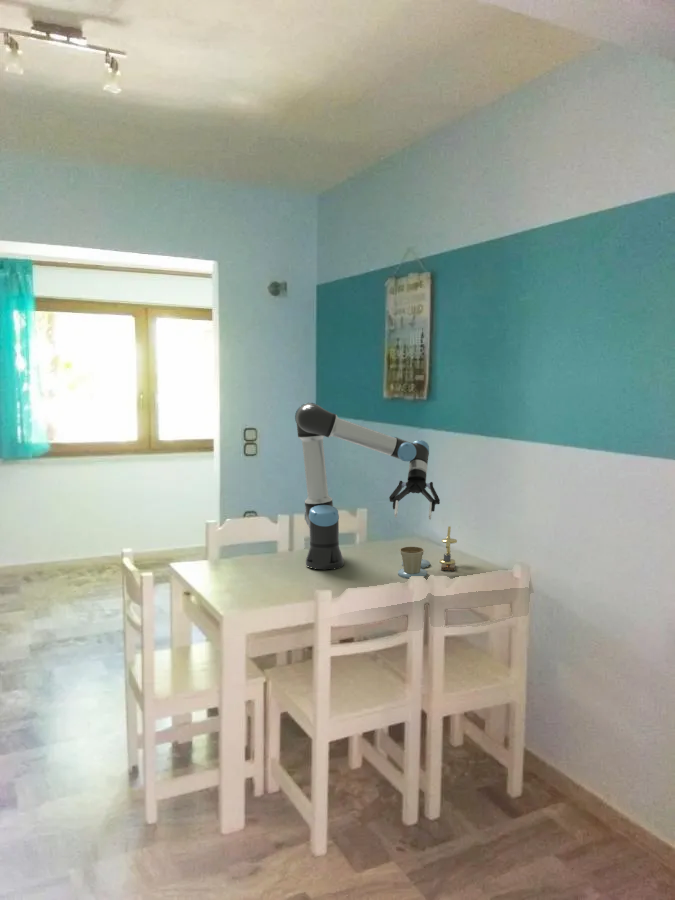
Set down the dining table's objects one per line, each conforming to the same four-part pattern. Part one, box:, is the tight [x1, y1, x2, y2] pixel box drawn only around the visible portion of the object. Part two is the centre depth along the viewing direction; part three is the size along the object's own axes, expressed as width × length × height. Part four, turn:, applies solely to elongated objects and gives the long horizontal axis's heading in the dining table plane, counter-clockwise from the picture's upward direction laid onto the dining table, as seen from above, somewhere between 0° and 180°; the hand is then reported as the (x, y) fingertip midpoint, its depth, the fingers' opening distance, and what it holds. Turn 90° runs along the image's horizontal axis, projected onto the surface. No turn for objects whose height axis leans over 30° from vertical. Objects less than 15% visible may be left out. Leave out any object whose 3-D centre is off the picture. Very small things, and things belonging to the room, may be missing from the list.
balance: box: [439, 525, 458, 572], centre depth 272 cm, size 6×21×15 cm, turn 168°
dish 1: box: [397, 568, 428, 579], centre depth 266 cm, size 11×11×1 cm
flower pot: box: [399, 546, 425, 574], centre depth 265 cm, size 9×9×9 cm
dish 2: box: [401, 558, 431, 569], centre depth 278 cm, size 11×11×1 cm
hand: (412, 516), depth 275 cm, fingers open, 13 cm apart
